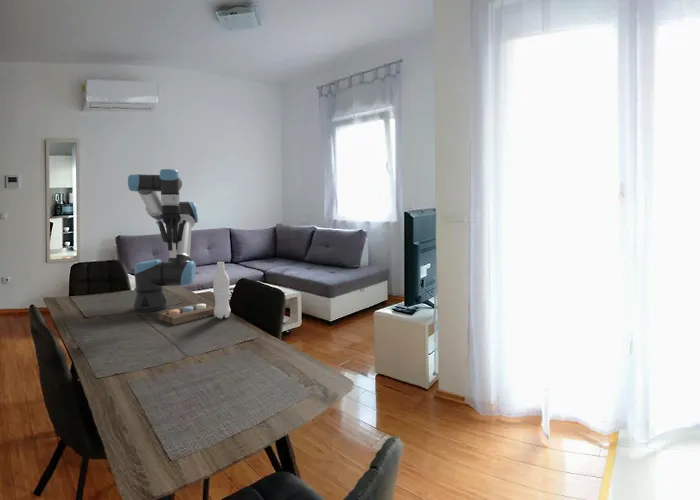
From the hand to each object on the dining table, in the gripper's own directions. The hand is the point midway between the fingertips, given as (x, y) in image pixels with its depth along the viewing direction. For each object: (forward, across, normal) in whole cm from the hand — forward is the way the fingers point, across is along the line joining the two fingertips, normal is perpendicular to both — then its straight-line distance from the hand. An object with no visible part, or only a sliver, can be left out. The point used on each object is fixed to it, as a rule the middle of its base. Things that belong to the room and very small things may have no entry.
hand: (173, 257), depth 186 cm
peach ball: (+26, -4, -7) cm, 28 cm away
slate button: (+26, +2, -7) cm, 27 cm away
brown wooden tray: (+26, +2, -7) cm, 27 cm away
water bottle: (+27, +11, -20) cm, 35 cm away
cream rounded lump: (+26, +8, -7) cm, 29 cm away
